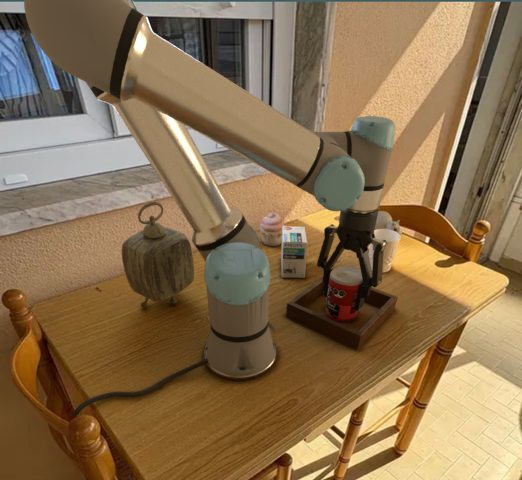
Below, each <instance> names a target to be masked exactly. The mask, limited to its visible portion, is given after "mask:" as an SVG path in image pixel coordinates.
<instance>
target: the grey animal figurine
mask: <svg viewBox="0 0 522 480" xmlns="http://www.w3.org/2000/svg"><path fill="white" fill-rule="evenodd" d="M400 221H401V219H398V220H397V221H395V220H393V218H392V215H390V213H388V212H387V211H384V210H380V211H379V210H378V216H377V221H376V226H375V229H374V230H377V229H388V230H393V231H395V232H397V233H399V234H400V235H401V236H402V234H403V228H401V229H400V227H401V226H400V223H401V222H400Z"/></svg>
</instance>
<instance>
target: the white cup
mask: <svg viewBox="0 0 522 480" xmlns="http://www.w3.org/2000/svg"><path fill="white" fill-rule="evenodd" d="M374 235H375V238H376V239H378V240H380V241H383V240H386V241H387V245H386V247H385V249H384V254H383V270H382V274H383V273H387V272H389V271H391V269H392V265H393V262H394V260H395V257H396V254H397V251H398V247H399V244H400V241H401V239H402V234H401V235H400V234H399V233H397V232H395V231H393V230H388V229H377V230H374ZM368 247H369V259H370V264H371V269H373V254H374V250H373V245H372V244H370V245H369V246H368Z"/></svg>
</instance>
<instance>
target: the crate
mask: <svg viewBox="0 0 522 480" xmlns="http://www.w3.org/2000/svg"><path fill="white" fill-rule="evenodd" d="M324 288H325V283H324V282H323V276H322V277H320V278H319V279H317V280H316V281H314V282H313V283H312V284H311V285H310V286H308V287H307V288H305V289H304V290H303V291H302V292H300V293H299V294H297V295H296V296H294V297H293V298H292V299H291V300H289V301H288V302H286V314H285V316H286V317H285V318H288V319H290V320H292V321H294V322H296V323H299V324H301V325H303V326H305V327H306V328H309V329H312V330H314V331H316V332H317V333H320V334H322V335H325V336H326V337H329V338H331V339H333V340H335V341H337V342H340V343H342V344H344V345H345V346H348V347H350V348H353V349H355V350H357V351H358V350H359V349H360V348H361V347H362V346H363V344H365V342H366V341H367V340H368V339H370V337H371V336H372V335H373V334H374V333H375V331H376V330H377V329H378V328H379V327H380V326H381V325H382V324H383V323H384V322H385V321H386V320H387V319H388V318H389V316H391V314H392V313H393V312H394V311H395V308H396V304H397V301H398V298H399V297H398V296H397V295H393V294H392V293H388V292H386V291H383V290H380V289H378V288H376V287H373V286H372V287H371V291H370V295H369V296H368V297H367V298H366V299H365V300H364V303H367V304H369V305H372V306H375V307H377V308H379V309H378V310H377V312H375V314H374V315H372V317H370V318H369V319H368V320H367V322H366V323H365V324H363V326H362V327H361V328H359V330H357V329H355V328H352V327H350V326H348V325H345V324H343V323H342V322H339V321H335V320H332V319H331V318H329V317H328V316H325V315H322V314H320V313H317V312H316V311H314V310H311V309H309V308H307V307H306V306H308V305H309V304H310V303H311V302H313V301H314V300H316V298H318V297H319V296H321V295H322V294H324Z"/></svg>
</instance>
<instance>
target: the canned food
mask: <svg viewBox="0 0 522 480" xmlns="http://www.w3.org/2000/svg"><path fill="white" fill-rule="evenodd" d="M332 269H333V270H332V271H331V273H330V278H329V284H328V291H327V297H325V298H326V299H325V307H324V311H325V314H326V317H327V318H330V319H332V320H334V321H336V322H339V323H347V322H351V321H354V320H355V318H356V317H357V316H358V313H359V310H358V311H357V310H355V307H356V302H357V298H358V293H359V288H360V285H361V284H362V283H363V279H362V274H361V269H359V268H356V267H352V266H338V267H335V268H334V267H333V268H332Z"/></svg>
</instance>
